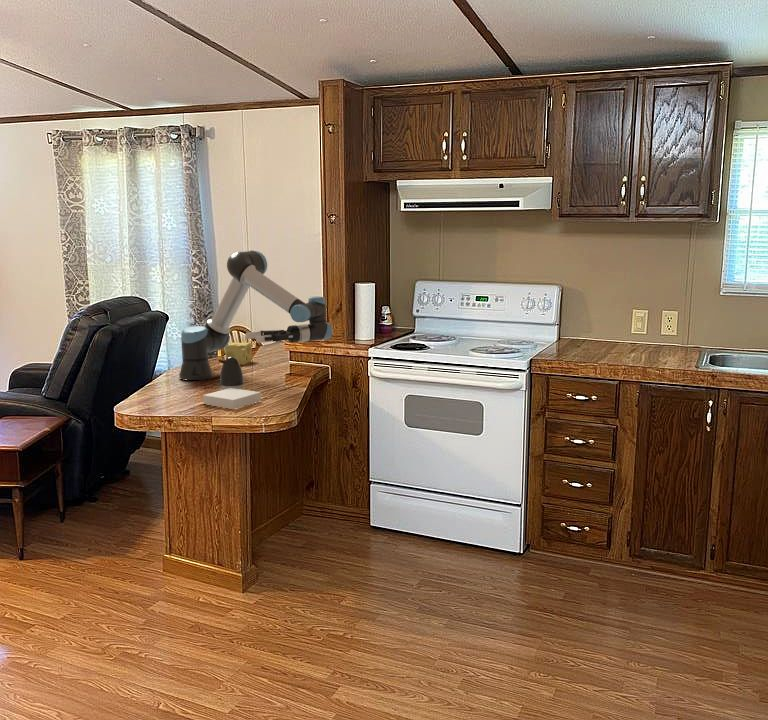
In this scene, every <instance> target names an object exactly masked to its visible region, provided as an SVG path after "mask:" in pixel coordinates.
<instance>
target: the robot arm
mask: <svg viewBox="0 0 768 720" xmlns="http://www.w3.org/2000/svg"><path fill="white" fill-rule="evenodd" d="M226 269H227V271H228V273H229V275H230V276H231V277H232V278H231V281H230V282H229V284H228V287H227V289H225V290H226V291H225V292H224V294H223V296H222V299H221V300H220V303H219V305H218V306H217V308H216V310H215V313H214V314H213V316H212V318H208V319H207V321H206V322H205V325H204V326H202V325H195V326H190V327H186V328H184V329H183V330H182V331H181V334H180V335H181V338H180V341H181V357H182V359H181V360H182V363H181V367H180V371H179V374H178V378H181V379H187V380H203V381H207V380H206V379H208V380H211V379H213V377H214V374H213V371H212V368H211V366H210V362H209V353H212V352H217V351H221V350H223V349H224V348H226V346H227V345H229V344H230V339H231V335H230V333H231V328H230V325H231V323H232V321H233V320H234V317H235V316H236V314H237V313H238V310H239V308H240V306H241V304H242V303H243V300H244V298H245V296H246V295H247V292H248V291H249V289H250V287H251V288H252V289H253V290H255V292H257V293H259V294H260V295H262V296H263V297H265V298H266V299H268V300H269V301H271V302H272V303H274V304H275V305H276V306H278V307H279V308H281V309H282V310H284V312H286V313H288V314H289V316H290V317H291V320H292V321H293V322H296V323H303V324H297V325H296V324H295V325H293V324H292V325H288V326H287V329H286V330H285V329H279V330H278V329H277V330H260V331H251V332H249V331H247V332H245V337H246V339H245V340H249V339H251V340H252V339H255V340H256V341H255V342H256V343H257V344H260V343H270V342H272V343H274V342H275V343H279V342H283V341H288V342H289V343H293V344H294V343H300V342H302V343H303V344H304V343H305V344H306V342H313V341H314V342H315V341H316V342H317V341H324V340H329V339H331V338H332V336H333V328H332V325H331V323H330V322H327V304H326V298H325V297H324V296H318V295H317V296H310V297H309V298H308V301H307V303H305V302H304V301H302V300H301V299H299V298H298V297H297V296H295V295H294V294H292V293H291V292H290V291H288V290H287V289H285V288H284V287H282V286H280V285H279V284H278V283H277V282H274V280H271V278H269V277H267V276H266V275H264V274H265V273H266V272H267V271H268V262H267V258H266V256H265V254H263V253H262V252H260V251H259V250H258V251H257V250H248V251H247V250H246V251H237V252H236V251H235V252H234V253H232V254H230V256H229V257H228V259H227V261H226ZM305 322H309V324H308V323H305ZM304 323H305V324H304Z"/></svg>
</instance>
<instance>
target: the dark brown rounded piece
mask: <svg viewBox="0 0 768 720" xmlns="http://www.w3.org/2000/svg"><path fill="white" fill-rule="evenodd" d="M218 363H221V364H222V366H221V369H220V374H219V375H220V376H219V386H220V389H221V390H225V389H228V388H235V389H242V390H243V387H244V384H245V379H244V374H243V370H242V367H241V365H240V364H239V362H238V361H237V359H236V358H234V357H228V358H227V359H226V358H225V360H223V359H218Z"/></svg>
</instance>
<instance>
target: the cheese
mask: <svg viewBox="0 0 768 720" xmlns="http://www.w3.org/2000/svg"><path fill="white" fill-rule="evenodd" d="M252 356H253V348H252V343H251V342H231V343H228V344H227V346H226V347H225V360H226V359H227V358H228V357H234V358H236V359H237V361H238V362H239V364H240V366H246V365H247V364H249V363H252Z"/></svg>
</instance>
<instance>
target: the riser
mask: <svg viewBox="0 0 768 720" xmlns="http://www.w3.org/2000/svg"><path fill="white" fill-rule="evenodd" d="M261 395H262V392H261V391H255V390H254V391H253V390H248V389H243V388H242V389H235V388H228V389H225V390H222V389H221V390H218V391H214V392H213V391H212V392H209V393H206V394H203V395H202V398H203V399H202V402H203V403H202V404H207V405H212V406H211V407H213V406H219V407H224V408H223V409H225V408H230V409H235V408H239V407H242V406H245V405H249V404H252V403H255V402H259V401H261V402H262V400H261V399H262V396H261ZM259 403H260V402H259ZM207 405H206V406H207ZM252 405H253V404H252ZM249 406H250V405H249ZM219 407H218V408H219ZM242 408H243V407H242ZM230 409H229V410H230ZM239 409H240V408H239Z"/></svg>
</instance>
